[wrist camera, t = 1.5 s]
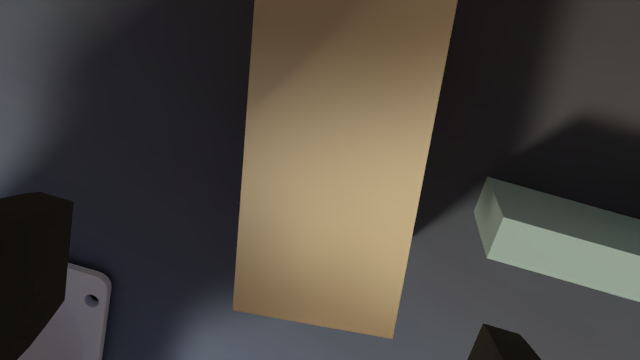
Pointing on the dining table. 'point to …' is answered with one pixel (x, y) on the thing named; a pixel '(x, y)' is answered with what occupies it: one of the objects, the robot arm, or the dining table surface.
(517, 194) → the bracket
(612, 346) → the dining table surface
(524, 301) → the dining table surface
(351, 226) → the tan rectangular block
